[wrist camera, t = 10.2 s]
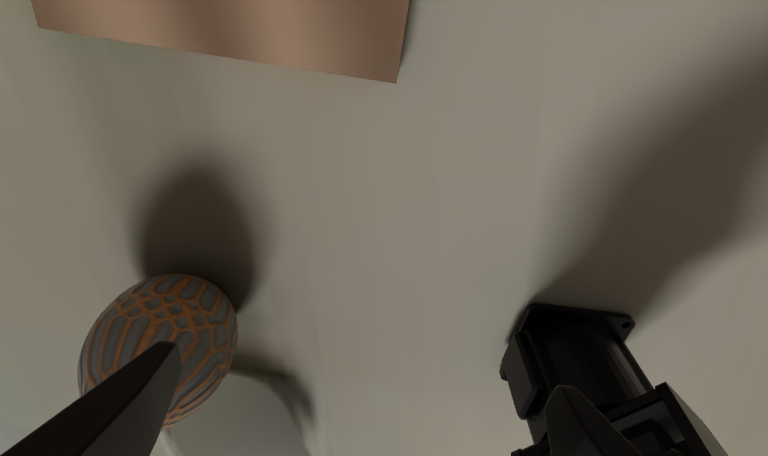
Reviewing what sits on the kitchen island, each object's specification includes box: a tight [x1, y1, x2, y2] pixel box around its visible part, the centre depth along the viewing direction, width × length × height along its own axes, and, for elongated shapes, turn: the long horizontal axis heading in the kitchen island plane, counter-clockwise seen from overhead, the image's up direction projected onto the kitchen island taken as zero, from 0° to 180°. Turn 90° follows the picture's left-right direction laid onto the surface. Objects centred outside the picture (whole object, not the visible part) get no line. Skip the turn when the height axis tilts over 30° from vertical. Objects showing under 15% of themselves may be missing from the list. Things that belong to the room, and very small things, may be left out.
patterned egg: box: [77, 273, 238, 432], centre depth 21 cm, size 7×7×9 cm
